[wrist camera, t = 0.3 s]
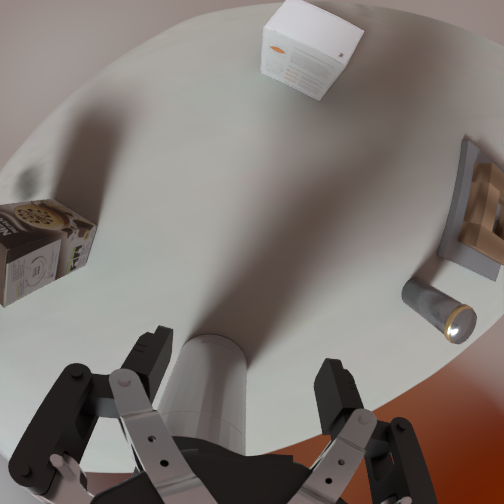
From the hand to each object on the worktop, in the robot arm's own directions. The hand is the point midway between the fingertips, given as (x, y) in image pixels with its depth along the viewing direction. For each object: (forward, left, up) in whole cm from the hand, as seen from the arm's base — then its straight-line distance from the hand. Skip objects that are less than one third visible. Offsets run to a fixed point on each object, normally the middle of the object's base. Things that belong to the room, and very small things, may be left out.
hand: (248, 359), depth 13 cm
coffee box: (-3, +25, -19) cm, 32 cm away
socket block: (+17, -33, -18) cm, 41 cm away
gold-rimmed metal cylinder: (+2, -23, -19) cm, 30 cm away
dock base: (+17, -33, -19) cm, 42 cm away
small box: (+24, +1, -19) cm, 31 cm away
